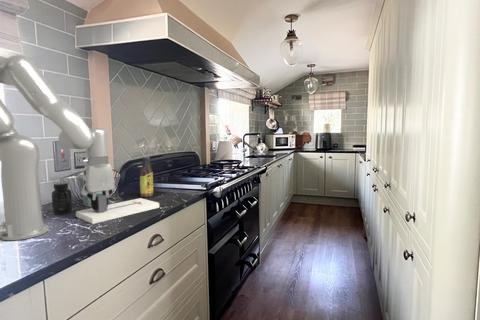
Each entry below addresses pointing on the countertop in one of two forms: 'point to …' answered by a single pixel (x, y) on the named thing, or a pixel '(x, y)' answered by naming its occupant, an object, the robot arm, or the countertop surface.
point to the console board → (117, 210)
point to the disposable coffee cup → (86, 200)
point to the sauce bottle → (146, 178)
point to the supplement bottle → (61, 199)
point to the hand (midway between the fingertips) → (100, 208)
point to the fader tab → (101, 202)
